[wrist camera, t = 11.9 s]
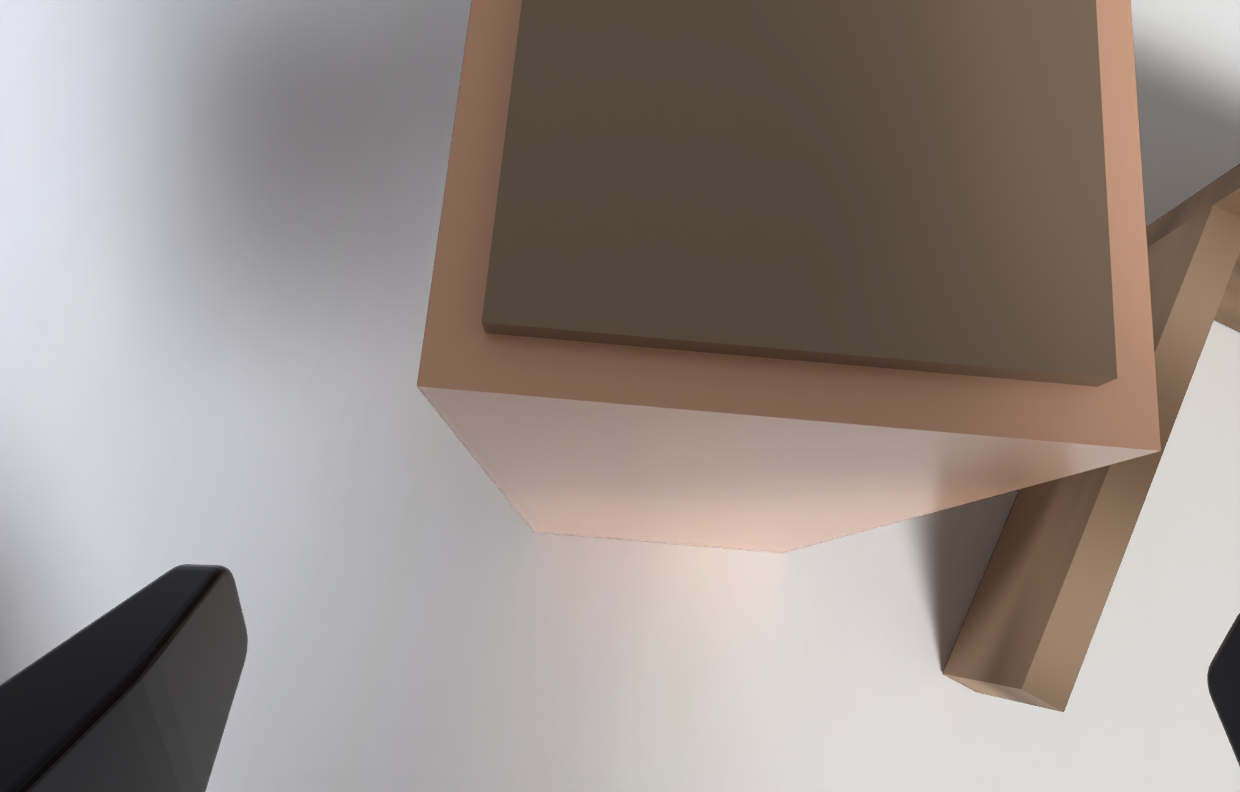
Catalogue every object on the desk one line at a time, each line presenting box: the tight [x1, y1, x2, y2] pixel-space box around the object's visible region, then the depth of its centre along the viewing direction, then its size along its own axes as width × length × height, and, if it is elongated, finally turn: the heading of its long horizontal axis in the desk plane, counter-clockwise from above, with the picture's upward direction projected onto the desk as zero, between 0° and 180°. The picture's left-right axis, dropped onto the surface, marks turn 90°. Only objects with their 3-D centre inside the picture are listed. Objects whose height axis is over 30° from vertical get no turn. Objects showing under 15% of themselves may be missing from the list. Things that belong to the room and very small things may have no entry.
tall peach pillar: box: [417, 0, 1161, 553], centre depth 13 cm, size 6×6×13 cm
